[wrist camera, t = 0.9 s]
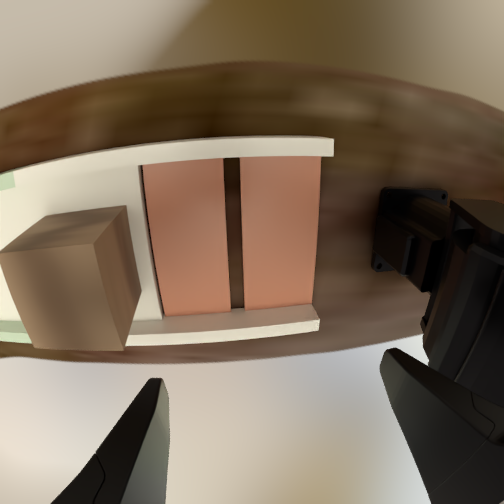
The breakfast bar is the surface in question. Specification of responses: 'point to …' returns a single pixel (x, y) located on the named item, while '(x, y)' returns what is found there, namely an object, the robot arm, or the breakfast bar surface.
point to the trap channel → (190, 231)
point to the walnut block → (75, 279)
